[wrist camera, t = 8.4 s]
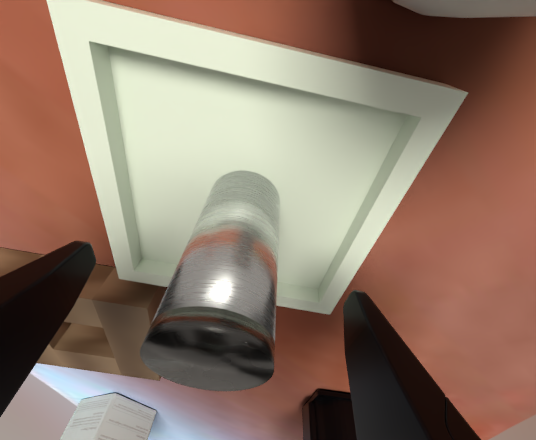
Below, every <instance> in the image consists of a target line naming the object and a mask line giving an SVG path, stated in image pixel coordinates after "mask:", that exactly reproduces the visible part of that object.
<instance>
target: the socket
mask: <svg viewBox="0 0 536 440" xmlns="http://www.w3.org/2000/svg"><path fill="white" fill-rule="evenodd" d="M42 256H44V255H41V254H35V253H29V252H24V251H18V250H12V249H6V248H0V277H1V276H3V275H5V274H7V273H9V272H11V271H13V270H15V269H17V268H19V267H21V266H24V265H26V264H28V263H30V262H32V261H34V260H36V259H38V258H40V257H42ZM164 294H165V287H164V286H158V285H152V284H146V283H140V282H135V281H129V280H123V279H119V277H118V273H117V269H116V267H110V266H105V265H99V264H95V267H94V269H93V271H92V273H91V274H90V276H89V278H88V280H87V282H86V284H85V286H84V288H83V290H82V292H81V294H80V296H79V297H78V299H77V301H76V303H75V305H74V307H73V308H72V310H71V312H70V313H69V315H68V316H67V318H66V319H65V321H64V322H63V324H62V325H61V327H60V328H59V330H58V331H57V333H56V334H55V336H54V337H53V339H52V340H51V342H50V343H49V345H48V346H47V348H46V349H45V351H44V352H43V354H42V355H41V357H40V358H39V360H38V361H37V363H41V364H48V365H55V366H61V367H68V368H75V369H82V370H89V371H96V372H103V373H110V374H117V375H124V376H131V377H138V378H145V379H152V380H158V381H160V378H161V376H160V375H158V374H156V373H155V372H153V371H152V370H151V369H149V368H148V367H147V366H146V365H145V364H144V362H143V361H142V359H141V357H140V348H141V346H142V343H143V341H144V339H145V337H146V334H147V332H148V330H149V328H150V326H151V323H152V321H153V319H154V317H155V314H156V312H157V310H158V308H159V305H160V303H161V301H162V299H163V297H164Z"/></svg>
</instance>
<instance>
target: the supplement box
mask: <svg viewBox="0 0 536 440" xmlns="http://www.w3.org/2000/svg"><path fill="white" fill-rule="evenodd" d="M155 415H156V410H153V409H151V408H148V407H146V406H144V405H142V404H139V403H137V402H135V401H132V400H130V399H128V398H126V397H123V396H121V395H119V394H116V393H112V394H107V395H101V396H96V397H91V398H85V399H82V400H81V401H80V403H79V405H78V406H77V409H76V410H75V412H74V414H73V416H72V418H71V420H70V421H69V424H68V425H67V427H66V429H65V431H64V433H63V435H62V436H61V438H60V440H147V439H148V436H149V433H150V430H151V427H152V424H153V421H154V418H155Z"/></svg>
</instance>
